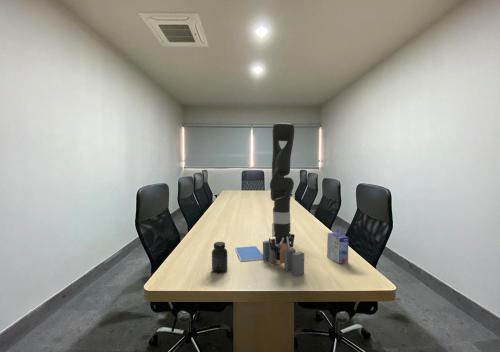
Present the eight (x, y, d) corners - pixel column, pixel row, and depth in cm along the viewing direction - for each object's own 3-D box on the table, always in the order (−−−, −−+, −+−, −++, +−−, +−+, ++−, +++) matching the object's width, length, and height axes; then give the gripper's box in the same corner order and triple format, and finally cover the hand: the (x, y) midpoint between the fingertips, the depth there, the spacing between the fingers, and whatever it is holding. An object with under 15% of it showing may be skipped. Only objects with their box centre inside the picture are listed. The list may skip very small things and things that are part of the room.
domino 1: (262, 260, 115) (262, 241, 115) (270, 257, 118) (270, 239, 118) (265, 261, 113) (265, 242, 113) (273, 259, 116) (273, 240, 116)
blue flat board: (234, 249, 132) (234, 247, 132) (256, 247, 135) (256, 245, 134) (240, 262, 113) (240, 260, 113) (265, 260, 116) (265, 258, 116)
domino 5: (292, 275, 99) (292, 253, 98) (300, 272, 101) (300, 251, 101) (295, 276, 97) (295, 255, 97) (304, 273, 100) (304, 252, 99)
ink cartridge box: (349, 263, 110) (349, 232, 110) (339, 264, 109) (339, 233, 109) (336, 255, 120) (336, 227, 120) (326, 256, 119) (326, 228, 118)
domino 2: (269, 263, 111) (269, 244, 111) (277, 260, 114) (277, 242, 113) (272, 264, 109) (272, 245, 109) (280, 262, 112) (280, 243, 112)
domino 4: (284, 270, 103) (284, 250, 102) (292, 268, 106) (292, 248, 105) (287, 272, 101) (287, 251, 101) (295, 269, 104) (295, 249, 104)
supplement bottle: (216, 266, 108) (216, 240, 108) (230, 268, 106) (229, 241, 105) (208, 272, 102) (208, 244, 101) (223, 274, 99) (222, 246, 99)
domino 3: (276, 263, 107) (276, 243, 106) (284, 260, 109) (284, 241, 109) (279, 264, 105) (279, 244, 105) (287, 261, 108) (287, 242, 108)
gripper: (287, 217, 114) (287, 252, 114) (264, 222, 106) (264, 259, 106) (299, 220, 108) (299, 257, 108) (275, 225, 99) (275, 265, 100)
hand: (282, 258), depth 107 cm, fingers closed on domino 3, 5 cm apart
